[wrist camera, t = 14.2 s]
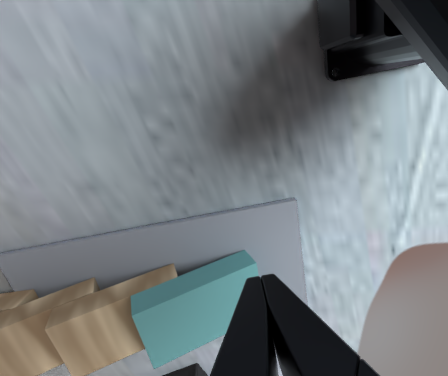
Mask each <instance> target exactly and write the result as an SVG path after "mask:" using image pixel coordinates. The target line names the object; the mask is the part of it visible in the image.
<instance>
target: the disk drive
mask: <svg viewBox="0 0 448 376" xmlns="http://www.w3.org/2000/svg"><path fill="white" fill-rule="evenodd" d="M163 376H208V375H207V374H206V373H205V371H203V369H202V368H201V367H200V365H199V364H197V363H196V364H193V365H190V366H188V367H185V368H183V369H179V370H176V371H174V372H171V373H168V374H166V375H163Z"/></svg>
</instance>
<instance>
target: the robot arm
mask: <svg viewBox="0 0 448 376" xmlns="http://www.w3.org/2000/svg"><path fill="white" fill-rule="evenodd" d="M317 4H318V21H319V38H320V47H321V48H322V49H323V50H324V54H325V73H326V77H327V79H328V80H330V81H337V80H342V79H347V78H351V77H356V76H361V75H366V74H371V73H376V72H380V71H385V70H390V69H395V68H400V67H404V66H409V65H414V64H419V63H424V62H425V63H426V64H427V65H428V66H429V68H430V69H431V70H432V71H433V73H434V74H435V75H436V76H437V77H438V79H439V80H440V81H441V82H442V84H443V85H444V86H445V87H446V89H447V90H448V0H318V1H317ZM334 68H336V69H337V75H336V76H333V75H332V70H333V69H334ZM274 346H275V347H274ZM275 350H276V352H275ZM276 354H277V358H278V361H279V365H280V368H281V371H282V374H283V376H380V375H379V374H378V373H377V372H376V371H375V370H374V369H373V368H372V367H371V366H369V365H368V364H367V363H366V362H365V361H364V360H363V359H360V356H359V355H358V354H357V353H356V352H355V351H354V350H353V349H352V348H351V347H350V346H349V345H348V344H347V343H346V342H345V341H344V340H342V339H341V338H340V337H339V336H338V335H337V334H336V333H335V332H334V331H333V330H332V329H331V328H330V327H329V326H328V325H327V324H326V323H325V322H324V321H323V320H322V319H321V318H320V317H319V316H318V315H317V314H316V313H315V312H313V311H312V310H311V309H310V308H309V307H308V306H307V305H306V304H305V303H304V302H303V301H302V300H301V299H300V298H299V297H298V296H297V295H296V294H295V293H294V292H293V291H292V290H291V289H290V288H289V287H288V286H287V285H286V284H285V283H283V282H282V281H281V280H280V279H279V278H278V277H277V276H276V275H275V274H266V275H262V276H261V278H260V276H255V277H249V278H247V279H246V281H245V284H244V286H243V289H242V292H241V294H240V297H239V300H238V302H237V305H236V308H235V310H234V313H233V316H232V318H231V321H230V323H229V326H228V329H227V331H226V334H225V337H224V339H223V342H222V345H221V347H220V350H219V353H218V355H217V358H216V361H215V363H214V366H213V368H212V371H211V374H210V376H278V367H277V359H276Z"/></svg>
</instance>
